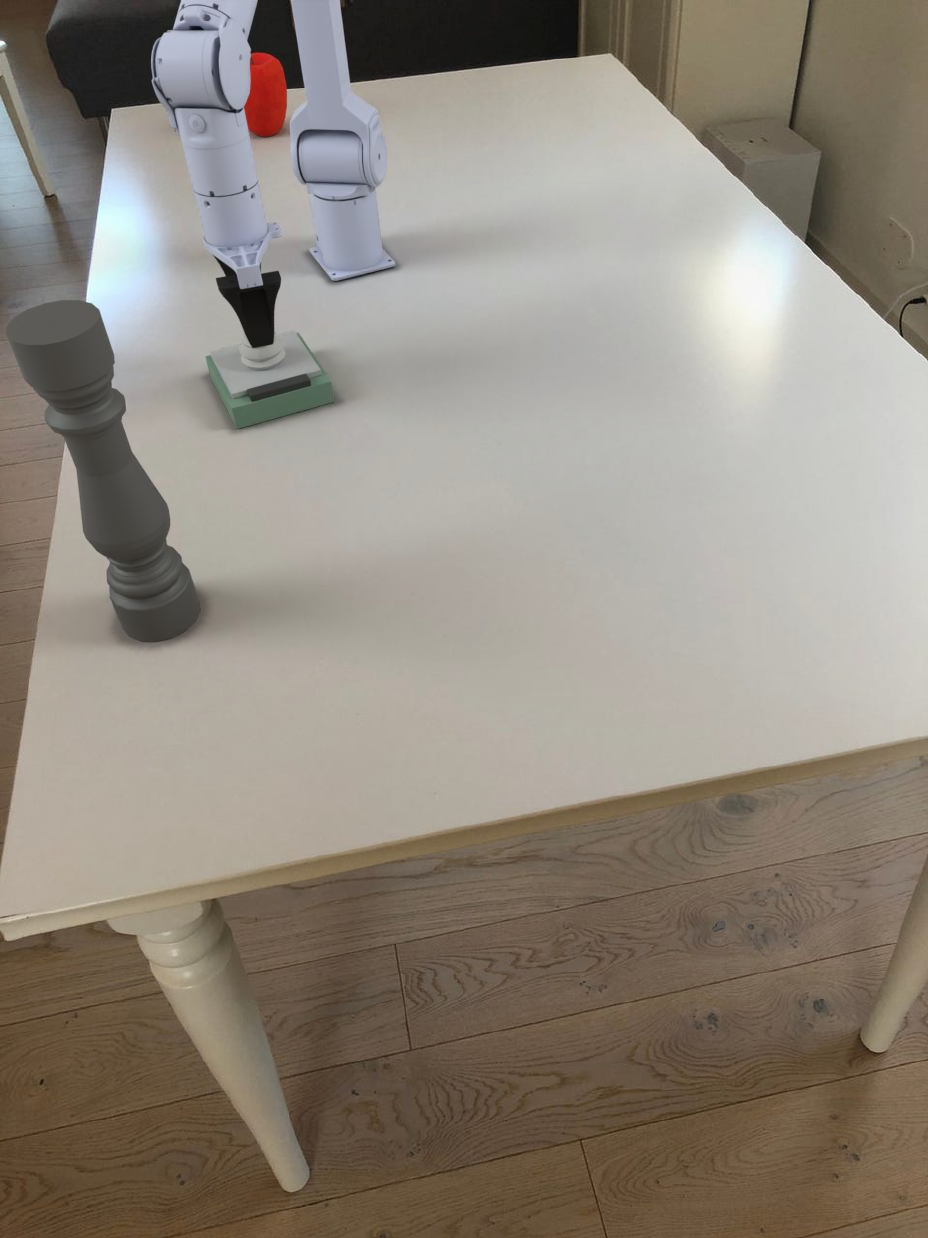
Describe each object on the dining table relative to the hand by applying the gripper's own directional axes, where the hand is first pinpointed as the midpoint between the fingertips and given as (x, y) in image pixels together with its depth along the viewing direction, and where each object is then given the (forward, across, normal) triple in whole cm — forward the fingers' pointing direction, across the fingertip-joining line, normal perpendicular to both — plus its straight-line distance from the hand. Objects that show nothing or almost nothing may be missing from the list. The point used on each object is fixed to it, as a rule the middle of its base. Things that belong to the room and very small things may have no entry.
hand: (256, 325), depth 98 cm
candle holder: (+7, -30, +13) cm, 34 cm away
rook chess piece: (+4, 0, 0) cm, 4 cm away
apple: (+7, +74, -11) cm, 76 cm away
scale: (+7, 0, 0) cm, 7 cm away
